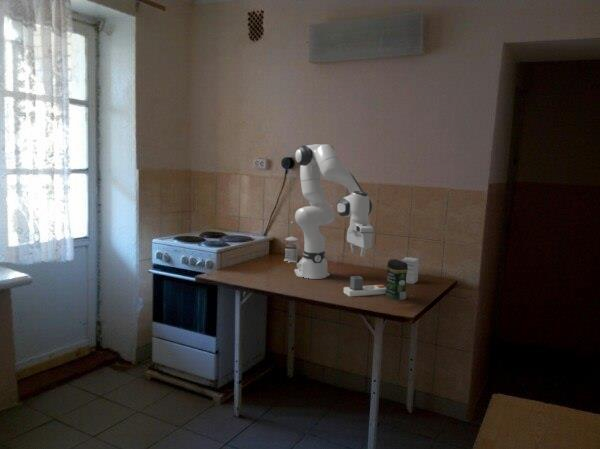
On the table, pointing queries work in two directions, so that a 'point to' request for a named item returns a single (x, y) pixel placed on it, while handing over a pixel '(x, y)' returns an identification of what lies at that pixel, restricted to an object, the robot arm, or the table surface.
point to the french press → (291, 250)
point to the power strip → (366, 290)
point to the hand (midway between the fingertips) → (357, 254)
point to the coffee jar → (396, 279)
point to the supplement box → (411, 269)
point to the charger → (356, 283)
